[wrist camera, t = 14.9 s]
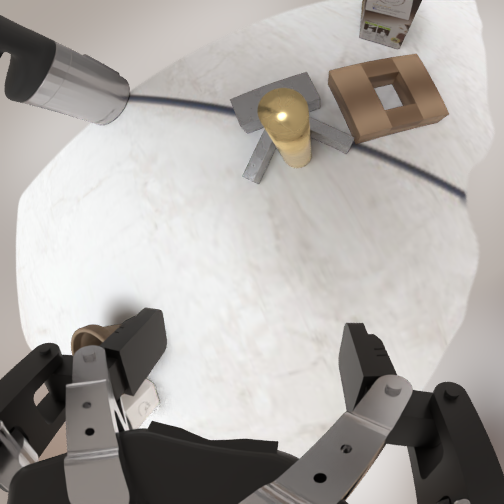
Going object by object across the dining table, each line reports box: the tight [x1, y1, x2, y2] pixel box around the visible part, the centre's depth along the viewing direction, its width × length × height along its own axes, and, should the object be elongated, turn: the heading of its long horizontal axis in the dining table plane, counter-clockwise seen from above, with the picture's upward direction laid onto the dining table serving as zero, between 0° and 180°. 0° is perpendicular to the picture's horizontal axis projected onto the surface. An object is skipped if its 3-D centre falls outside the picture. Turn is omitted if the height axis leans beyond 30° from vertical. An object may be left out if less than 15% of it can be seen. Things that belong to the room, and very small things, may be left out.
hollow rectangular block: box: [328, 54, 449, 144], centre depth 27 cm, size 9×13×4 cm
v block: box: [230, 72, 354, 184], centre depth 31 cm, size 11×14×4 cm
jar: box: [121, 379, 160, 430], centre depth 39 cm, size 9×8×12 cm
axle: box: [257, 88, 311, 168], centre depth 25 cm, size 4×4×16 cm
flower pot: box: [71, 324, 123, 396], centre depth 38 cm, size 12×11×10 cm
